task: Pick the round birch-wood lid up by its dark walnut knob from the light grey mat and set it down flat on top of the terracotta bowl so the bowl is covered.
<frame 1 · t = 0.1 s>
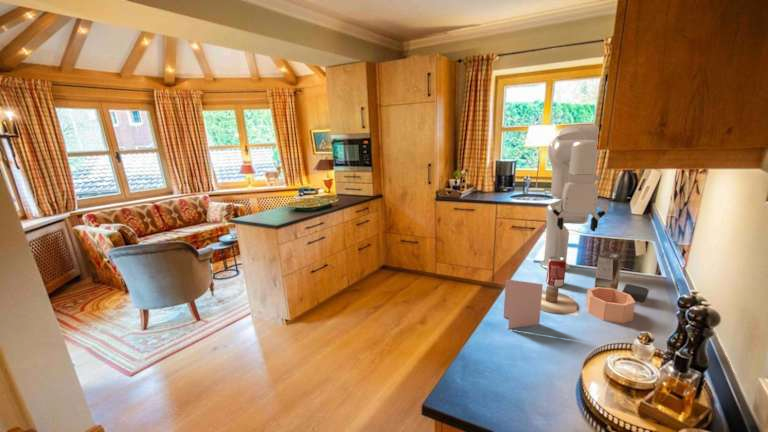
hand: (576, 229, 112), 31 cm above the countertop, tool pointing down, fingers open, 9 cm apart
greeting card: (520, 326, 111), on the countertop
bowl: (608, 313, 117), on the countertop
phone: (634, 294, 131), on the countertop
coffee box: (605, 293, 132), on the countertop
lid: (551, 302, 125), resting on mat
mat: (551, 303, 125), on the countertop
soda can: (554, 285, 140), on the countertop
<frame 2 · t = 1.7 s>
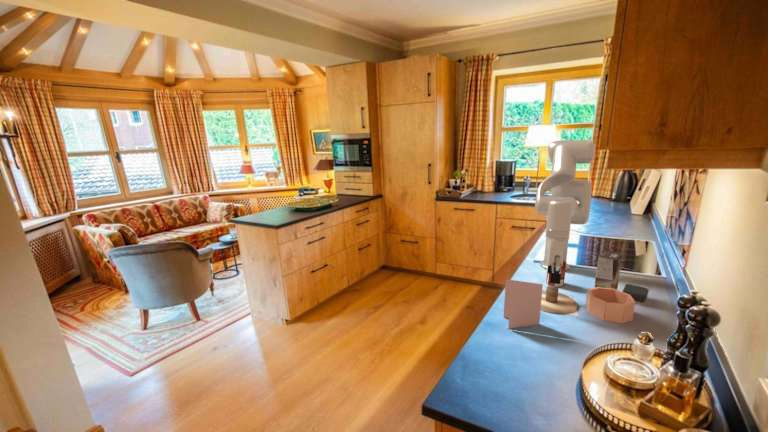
hand: (553, 278, 122), 11 cm above the countertop, tool pointing down, fingers open, 9 cm apart
nothing on the countertop moved.
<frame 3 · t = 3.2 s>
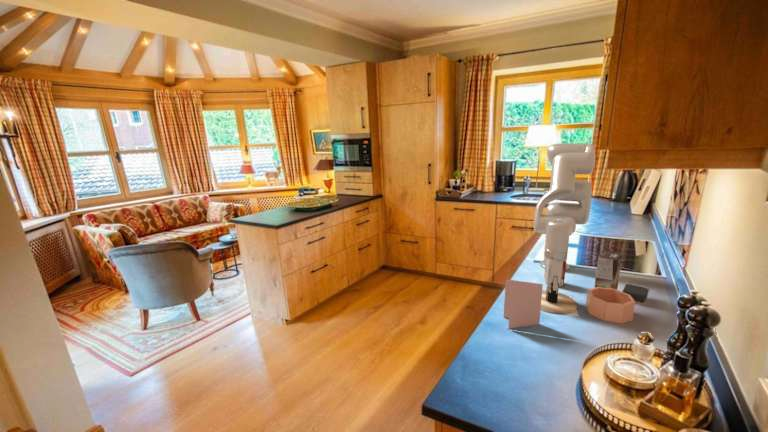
hand: (551, 298, 125), 2 cm above the countertop, tool pointing down, fingers closed on lid, 4 cm apart
lid: (551, 302, 125), resting on mat, touching gripper
everything else where it was.
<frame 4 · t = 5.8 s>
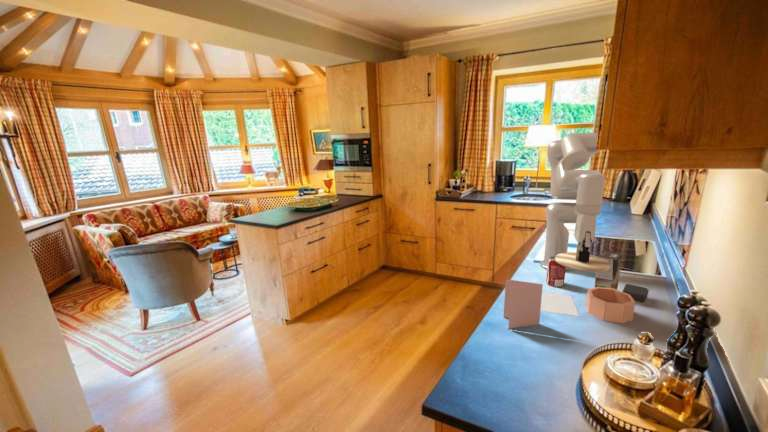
hand: (582, 258, 117), 19 cm above the countertop, tool pointing down, fingers closed on lid, 4 cm apart
lid: (581, 262, 117), point 18 cm above the countertop, touching gripper
everything else where it was.
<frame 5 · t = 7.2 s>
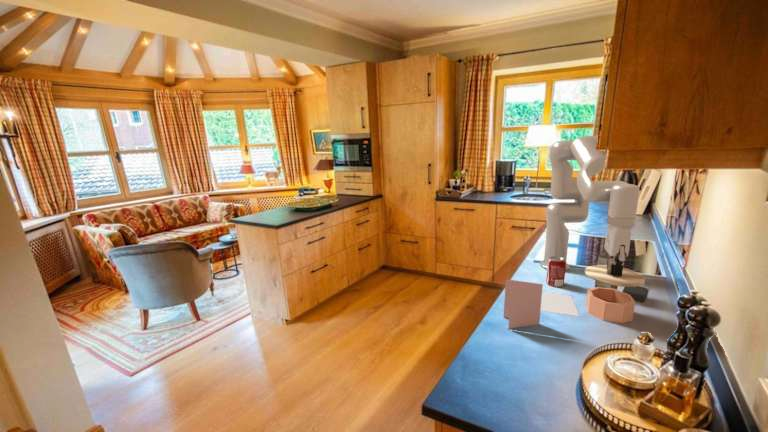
hand: (614, 272, 113), 16 cm above the countertop, tool pointing down, fingers closed on lid, 4 cm apart
lid: (613, 276, 113), point 14 cm above the countertop, touching gripper
everything else where it was.
when the fingers open (10 cm above the countertop, at t = 8.5 s): lid drops 1 cm, resting on bowl.
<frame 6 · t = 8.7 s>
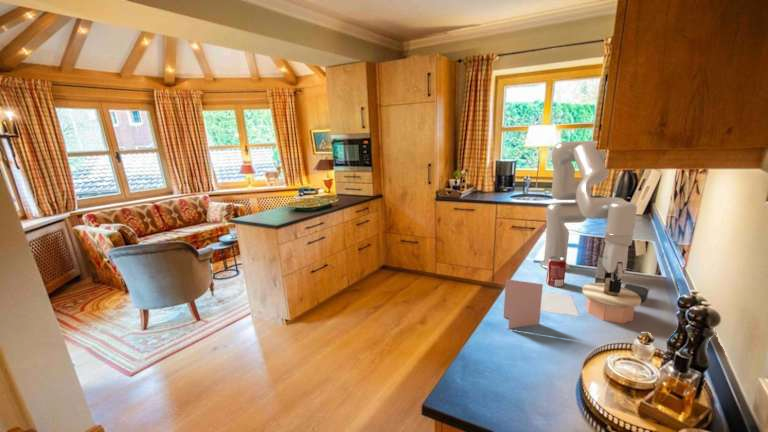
hand: (611, 287, 114), 10 cm above the countertop, tool pointing down, fingers open, 6 cm apart
bowl: (608, 313, 117), on the countertop, touching lid
lid: (610, 295, 115), point 7 cm above the countertop, touching bowl
everything else where it was.
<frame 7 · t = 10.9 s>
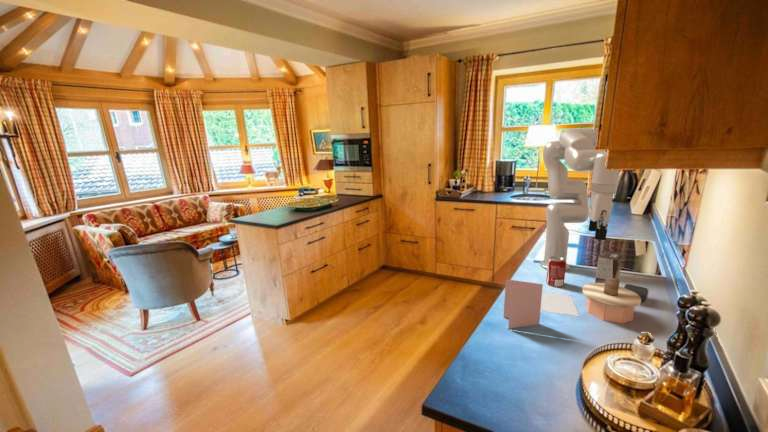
hand: (596, 235, 118), 27 cm above the countertop, tool pointing down, fingers open, 9 cm apart
nothing on the countertop moved.
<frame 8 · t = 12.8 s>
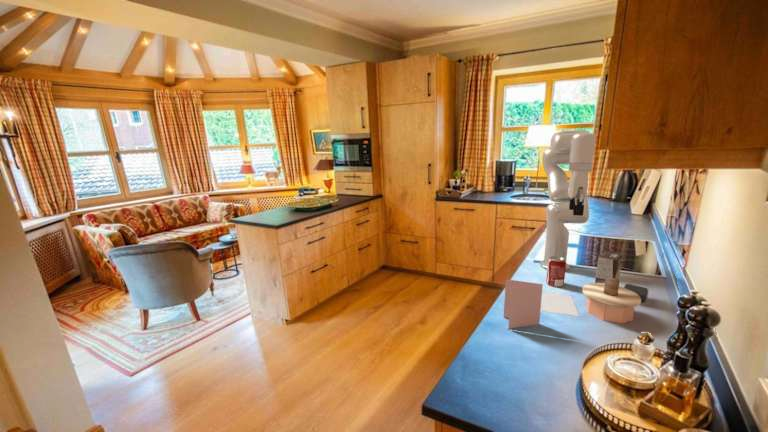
hand: (575, 212, 126), 33 cm above the countertop, tool pointing down, fingers open, 9 cm apart
nothing on the countertop moved.
at the end: lid 0.1 cm off-centre on the bowl, point 7.0 cm above the bowl's base; lid tilted 0°; the gripper is holding nothing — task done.
